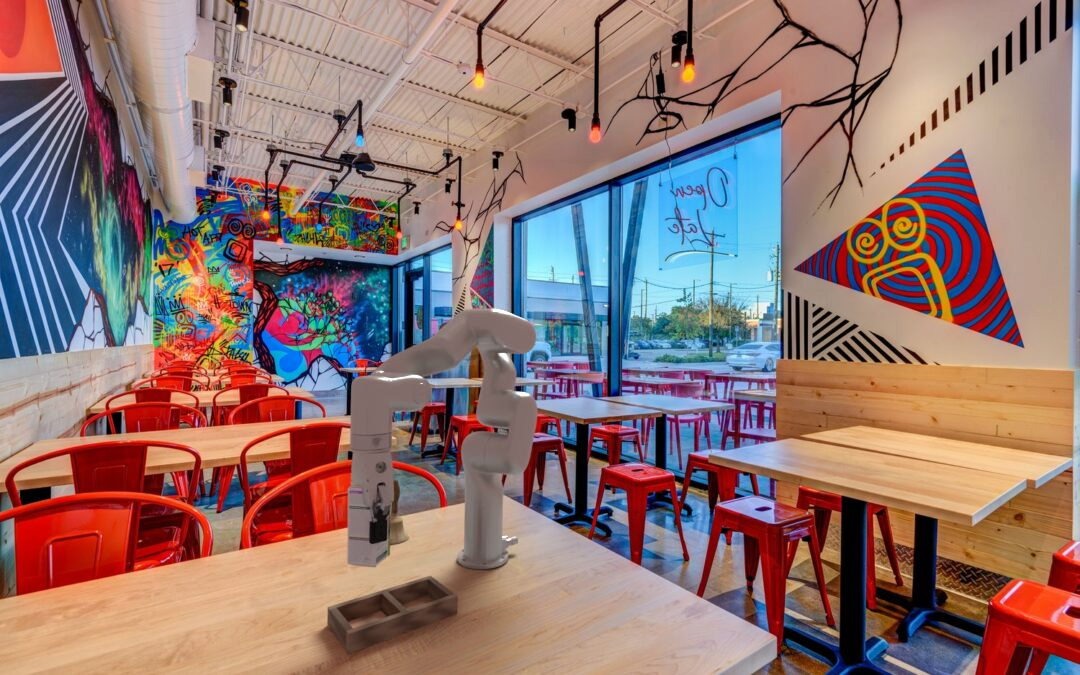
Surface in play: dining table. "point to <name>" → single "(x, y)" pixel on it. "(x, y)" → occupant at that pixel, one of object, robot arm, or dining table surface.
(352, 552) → the syrup box
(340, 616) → the rack
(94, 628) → the dining table surface
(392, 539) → the hand bell
